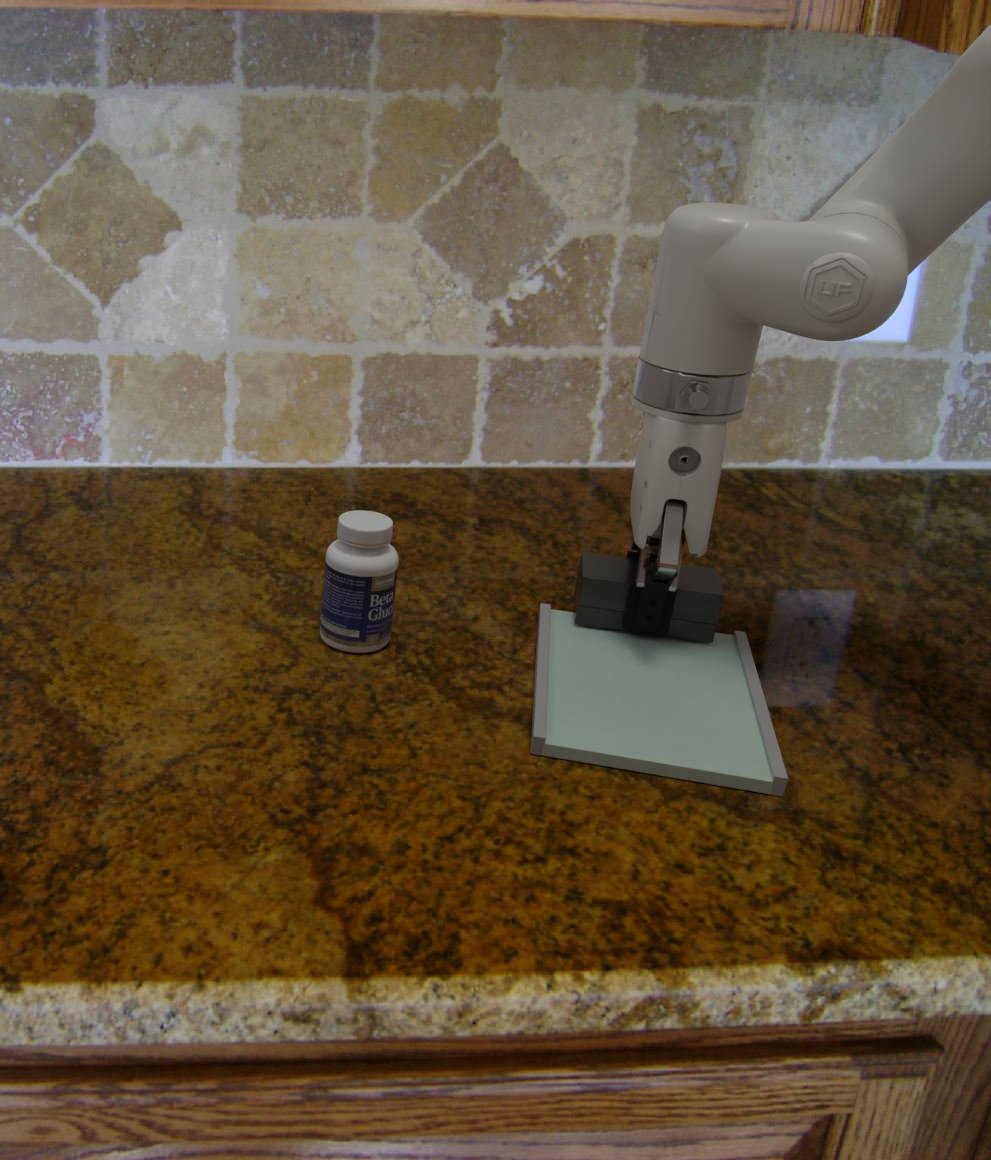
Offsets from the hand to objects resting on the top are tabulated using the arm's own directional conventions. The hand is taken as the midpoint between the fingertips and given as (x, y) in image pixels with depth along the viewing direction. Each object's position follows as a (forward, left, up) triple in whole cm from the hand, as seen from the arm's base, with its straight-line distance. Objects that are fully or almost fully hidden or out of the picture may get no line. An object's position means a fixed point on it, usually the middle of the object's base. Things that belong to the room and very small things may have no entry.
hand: (642, 614), depth 90 cm
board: (0, +10, -2) cm, 10 cm away
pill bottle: (+21, +8, -2) cm, 23 cm away
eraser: (0, 0, 0) cm, 0 cm away
